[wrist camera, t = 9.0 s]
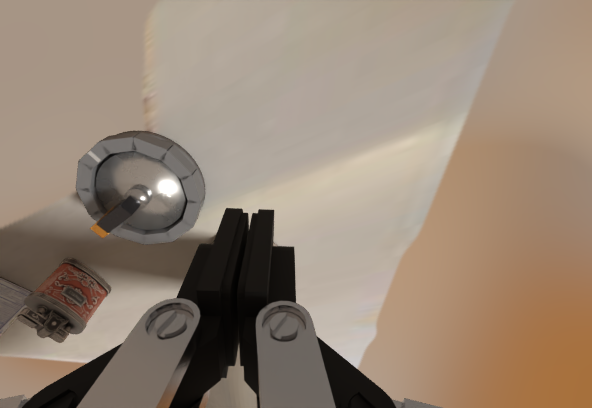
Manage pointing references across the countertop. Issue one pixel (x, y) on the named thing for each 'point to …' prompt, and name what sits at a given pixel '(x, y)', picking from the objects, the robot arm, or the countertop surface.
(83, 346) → the countertop surface
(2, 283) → the medicine box
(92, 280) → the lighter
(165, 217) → the dial
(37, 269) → the countertop surface
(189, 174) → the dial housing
